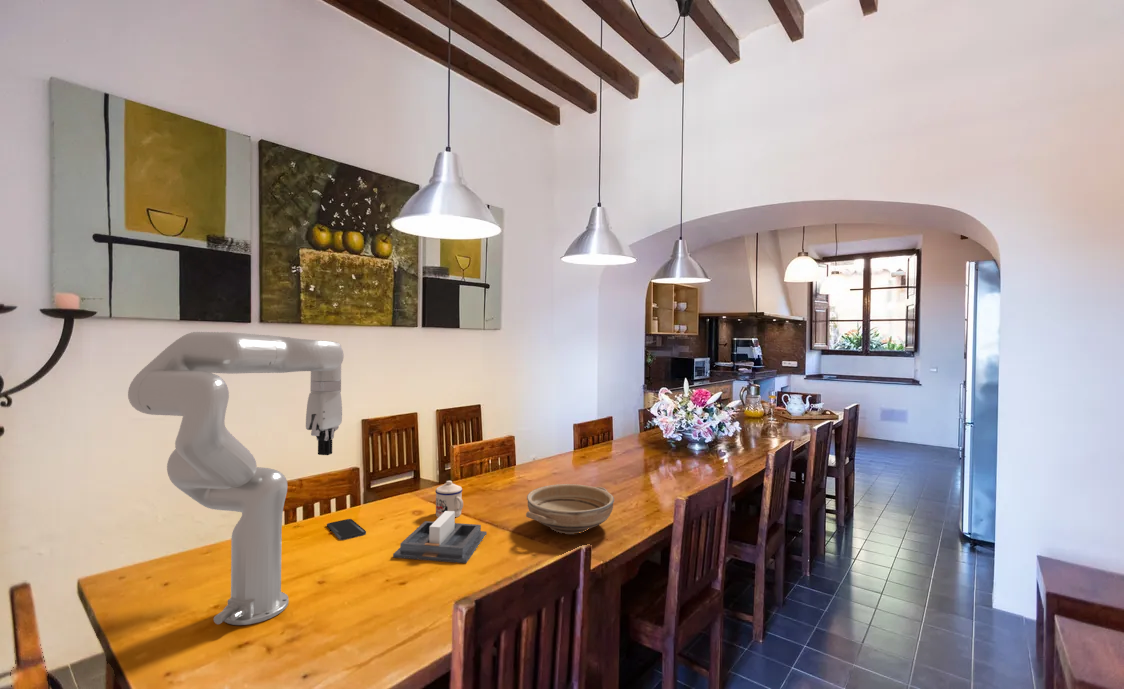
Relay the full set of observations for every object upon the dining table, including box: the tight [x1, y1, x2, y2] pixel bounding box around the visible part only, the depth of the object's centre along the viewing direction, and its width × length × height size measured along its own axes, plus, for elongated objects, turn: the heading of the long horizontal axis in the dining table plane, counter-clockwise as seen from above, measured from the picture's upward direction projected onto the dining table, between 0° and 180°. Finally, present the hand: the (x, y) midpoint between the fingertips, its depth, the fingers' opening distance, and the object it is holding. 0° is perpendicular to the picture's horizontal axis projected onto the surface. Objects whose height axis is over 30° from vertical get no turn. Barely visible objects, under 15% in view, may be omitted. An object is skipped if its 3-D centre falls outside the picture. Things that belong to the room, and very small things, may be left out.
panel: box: [429, 511, 456, 545], centre depth 147 cm, size 13×3×7 cm, turn 174°
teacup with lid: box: [435, 480, 464, 519], centre depth 172 cm, size 12×9×12 cm
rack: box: [392, 520, 487, 564], centre depth 147 cm, size 20×21×4 cm
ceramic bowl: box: [525, 483, 615, 535], centre depth 164 cm, size 37×29×10 cm
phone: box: [326, 518, 367, 541], centre depth 158 cm, size 8×1×15 cm
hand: (325, 454), depth 136 cm, fingers closed
